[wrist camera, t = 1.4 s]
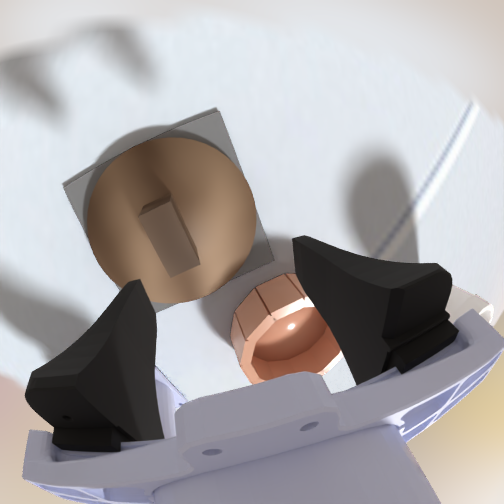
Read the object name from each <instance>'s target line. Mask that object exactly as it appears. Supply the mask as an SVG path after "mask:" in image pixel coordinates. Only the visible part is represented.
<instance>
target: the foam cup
mask: <svg viewBox="0 0 504 504" xmlns="http://www.w3.org/2000/svg"><path fill="white" fill-rule="evenodd" d="M470 309H474V310H475V311H476V312H477V313H478V314H479V315H481V316H482V317H483V318H484V319H485V320H486V321H487V322H488V323H489V324H490V322H491V320H492V317H493V310H494V307H493V306H492V305H491V304H490V303H488V302H487V301H485V300H484V299H483V298H481V297H480V296H478V295H477V294H475V295H473V294H471V293H469V292H467V291H465V290H463V289H461V288H458V287H456V286H454V285H452V289H451V293H450V296H449V300H448V303H447V306H446V309H445V310H446V311H447V312H448V313H449V314H450V318H449V319H448V320H449V321H450V322H451V323H452V324H453V323H454V322H455V320H456V319H458V318H459V317H460V316H462V315H463V314H464V313H466V312H467V311H469V310H470Z"/></svg>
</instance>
